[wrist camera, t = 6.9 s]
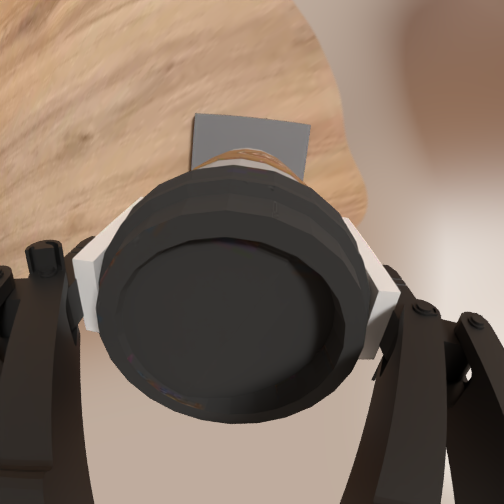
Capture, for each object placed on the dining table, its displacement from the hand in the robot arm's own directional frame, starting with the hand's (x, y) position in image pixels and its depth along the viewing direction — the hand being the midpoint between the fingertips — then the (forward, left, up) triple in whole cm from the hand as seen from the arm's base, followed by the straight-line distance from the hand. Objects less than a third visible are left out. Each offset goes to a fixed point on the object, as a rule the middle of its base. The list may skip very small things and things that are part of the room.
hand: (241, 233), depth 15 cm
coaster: (0, 0, -15) cm, 15 cm away
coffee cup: (0, 0, -8) cm, 8 cm away
